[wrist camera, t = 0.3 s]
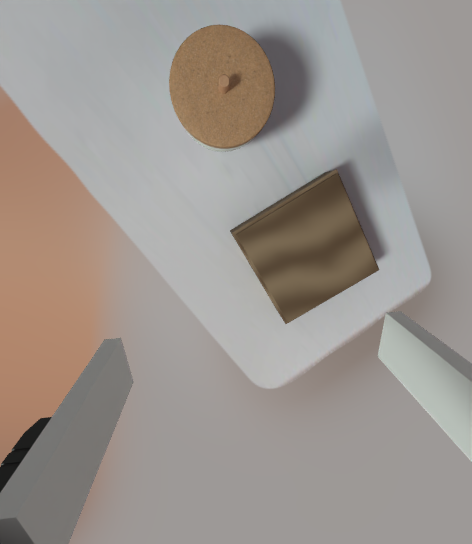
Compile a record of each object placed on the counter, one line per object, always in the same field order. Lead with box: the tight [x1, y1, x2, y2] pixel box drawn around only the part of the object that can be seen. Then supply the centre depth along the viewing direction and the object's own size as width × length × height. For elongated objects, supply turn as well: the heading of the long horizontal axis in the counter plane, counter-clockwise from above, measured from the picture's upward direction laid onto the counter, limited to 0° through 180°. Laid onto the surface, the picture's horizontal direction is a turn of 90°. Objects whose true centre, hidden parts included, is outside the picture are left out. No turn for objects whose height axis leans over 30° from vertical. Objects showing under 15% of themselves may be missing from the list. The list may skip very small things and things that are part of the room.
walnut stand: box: [230, 169, 379, 324], centre depth 36 cm, size 16×16×4 cm
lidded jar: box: [169, 25, 275, 152], centre depth 28 cm, size 11×11×9 cm
